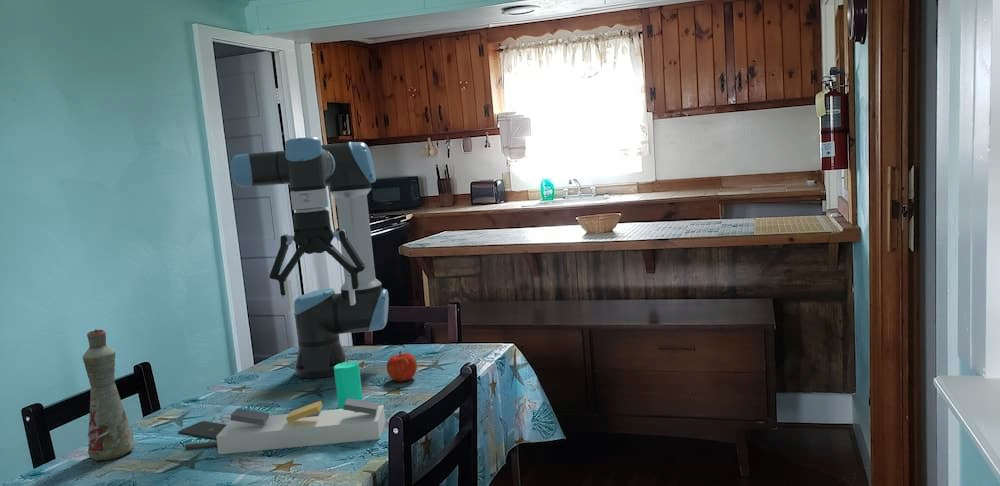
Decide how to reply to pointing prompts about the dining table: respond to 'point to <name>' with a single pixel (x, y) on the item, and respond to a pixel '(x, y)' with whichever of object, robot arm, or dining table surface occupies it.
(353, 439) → the power strip
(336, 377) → the candle
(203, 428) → the smartphone
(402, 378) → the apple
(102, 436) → the bottle
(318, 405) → the rocker
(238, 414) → the block
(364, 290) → the robot arm
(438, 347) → the dining table surface
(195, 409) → the dining table surface
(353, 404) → the block
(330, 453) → the dining table surface
